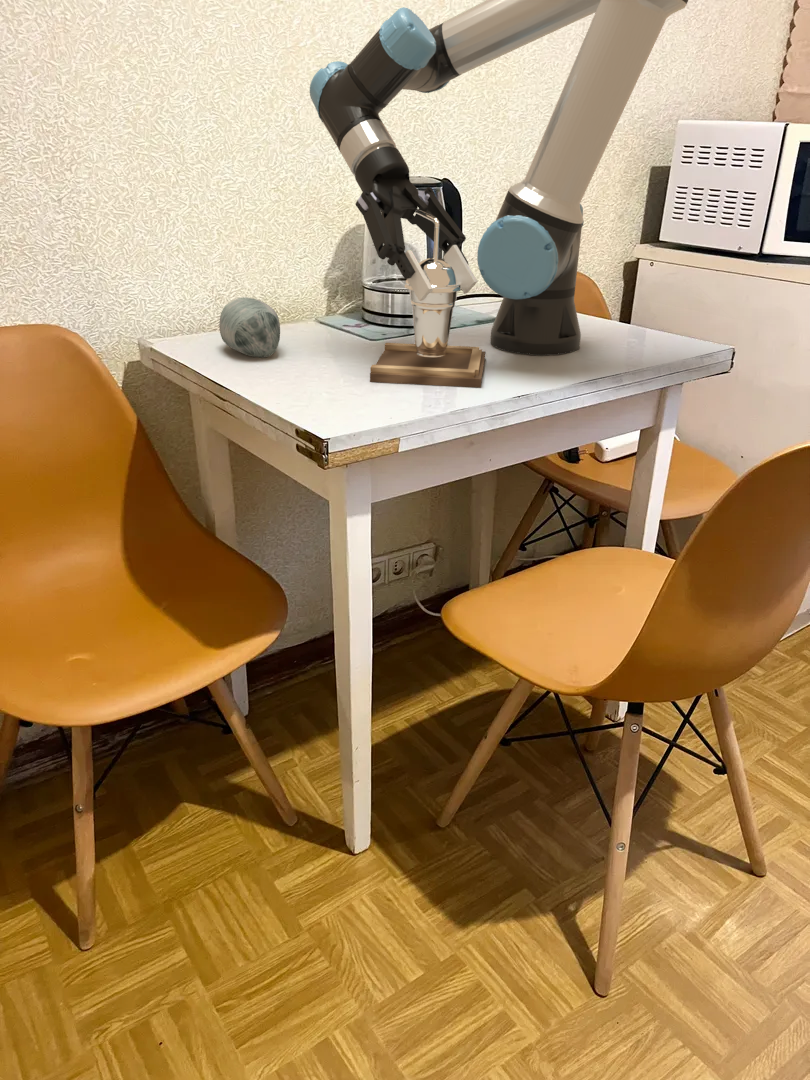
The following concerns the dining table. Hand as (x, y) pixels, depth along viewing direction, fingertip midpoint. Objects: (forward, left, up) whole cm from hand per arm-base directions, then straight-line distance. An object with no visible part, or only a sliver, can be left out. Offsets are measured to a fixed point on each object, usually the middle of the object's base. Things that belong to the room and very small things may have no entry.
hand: (449, 291), depth 117 cm
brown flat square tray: (+3, -2, -12) cm, 13 cm away
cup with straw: (+3, -2, -10) cm, 10 cm away
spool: (+33, -8, -12) cm, 36 cm away
